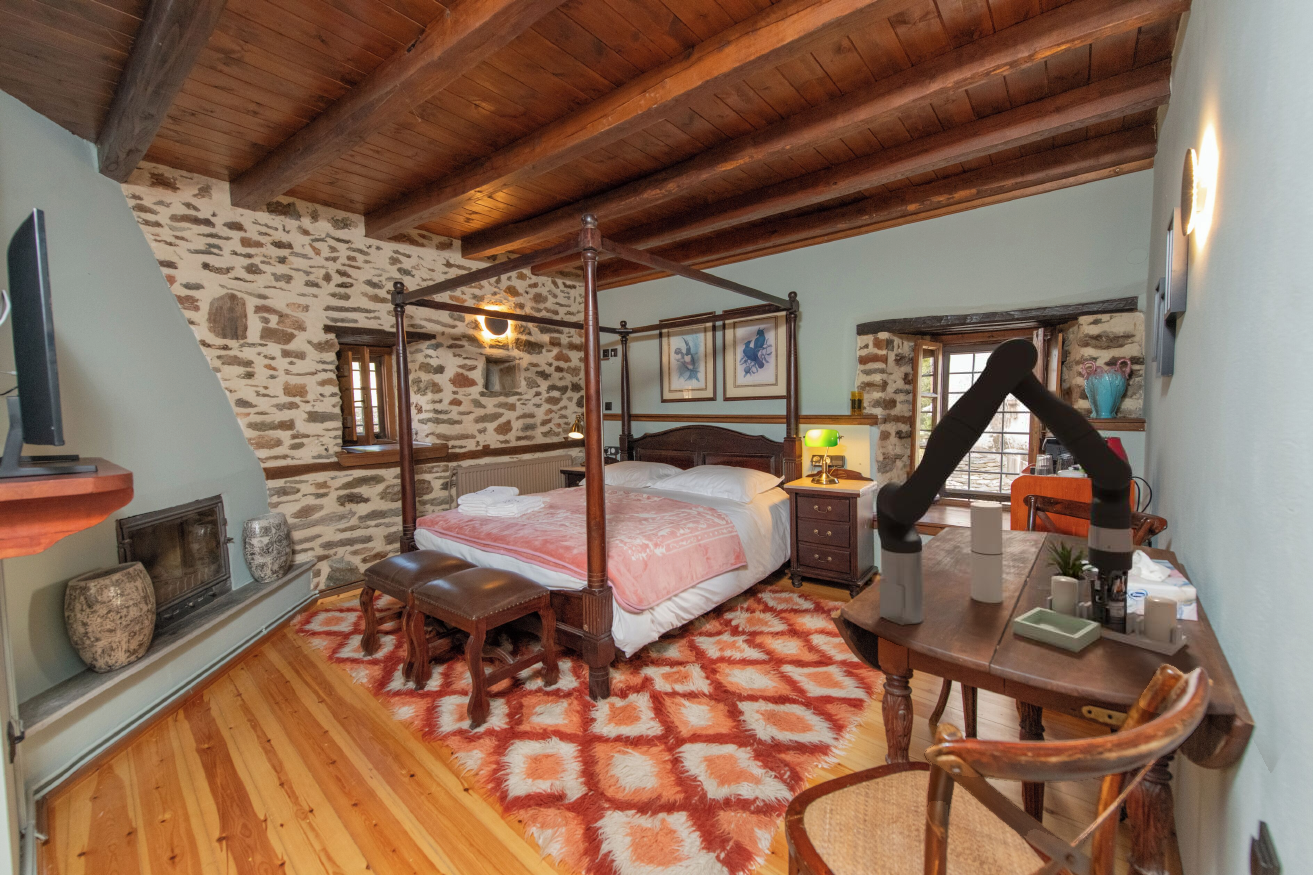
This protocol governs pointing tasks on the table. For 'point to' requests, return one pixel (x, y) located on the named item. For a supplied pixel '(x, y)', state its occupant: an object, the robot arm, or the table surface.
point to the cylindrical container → (986, 552)
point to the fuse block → (1143, 632)
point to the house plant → (1070, 566)
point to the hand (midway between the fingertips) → (1109, 619)
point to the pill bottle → (1115, 612)
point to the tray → (1057, 629)
